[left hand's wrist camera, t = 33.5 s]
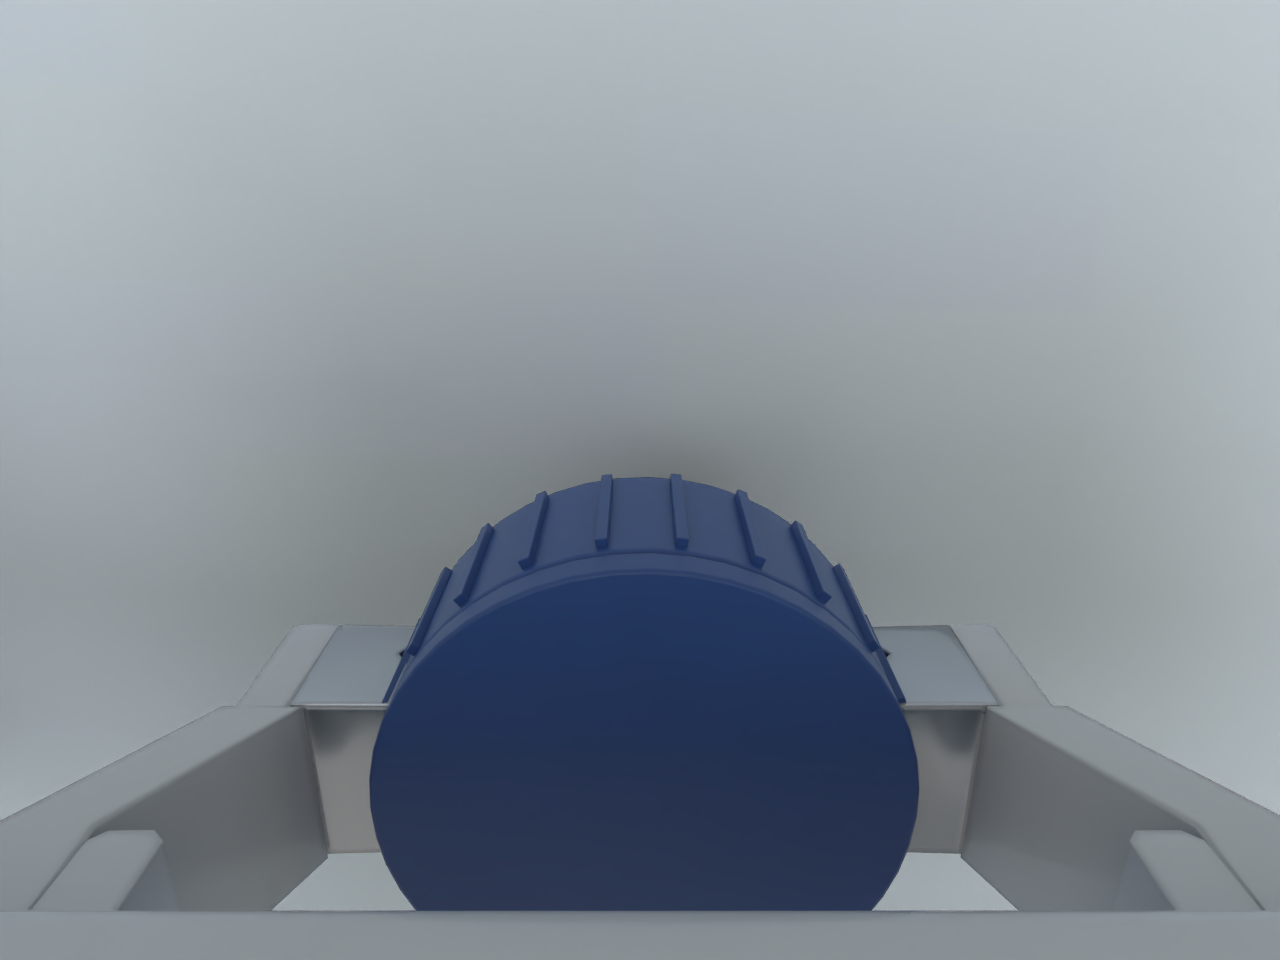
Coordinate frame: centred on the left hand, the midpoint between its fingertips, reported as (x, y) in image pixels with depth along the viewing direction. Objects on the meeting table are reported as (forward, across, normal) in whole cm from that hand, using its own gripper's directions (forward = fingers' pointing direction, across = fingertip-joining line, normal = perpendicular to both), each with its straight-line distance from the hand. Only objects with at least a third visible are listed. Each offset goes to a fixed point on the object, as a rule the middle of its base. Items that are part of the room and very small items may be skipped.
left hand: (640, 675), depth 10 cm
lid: (-2, 0, 0) cm, 2 cm away
